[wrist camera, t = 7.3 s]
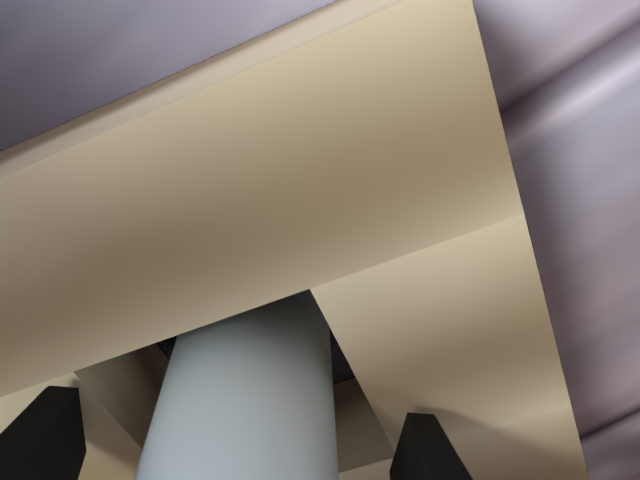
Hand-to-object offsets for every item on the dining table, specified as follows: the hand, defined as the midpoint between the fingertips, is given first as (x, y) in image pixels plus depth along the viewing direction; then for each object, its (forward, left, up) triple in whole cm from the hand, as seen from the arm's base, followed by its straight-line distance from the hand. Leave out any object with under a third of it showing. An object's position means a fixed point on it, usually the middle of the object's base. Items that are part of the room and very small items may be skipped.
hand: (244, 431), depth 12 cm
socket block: (0, 0, -3) cm, 3 cm away
